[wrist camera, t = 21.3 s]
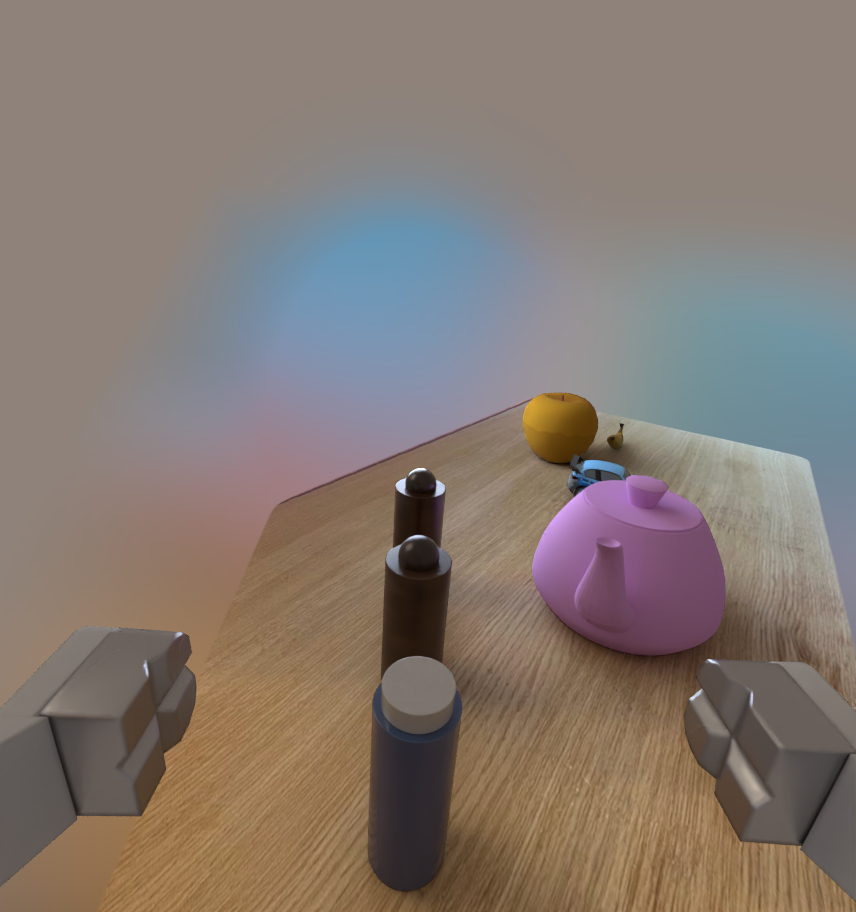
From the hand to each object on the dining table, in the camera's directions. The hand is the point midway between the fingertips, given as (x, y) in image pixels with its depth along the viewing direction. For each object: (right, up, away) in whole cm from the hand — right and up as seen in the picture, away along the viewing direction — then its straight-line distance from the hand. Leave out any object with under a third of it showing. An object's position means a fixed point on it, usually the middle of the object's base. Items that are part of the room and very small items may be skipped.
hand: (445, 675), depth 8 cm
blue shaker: (-1, -19, +20) cm, 28 cm away
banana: (+35, +5, +87) cm, 94 cm away
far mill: (-2, -10, +43) cm, 45 cm away
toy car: (+26, -3, +65) cm, 70 cm away
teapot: (+18, -12, +42) cm, 47 cm away
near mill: (-2, -14, +32) cm, 35 cm away
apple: (+22, +3, +81) cm, 84 cm away
